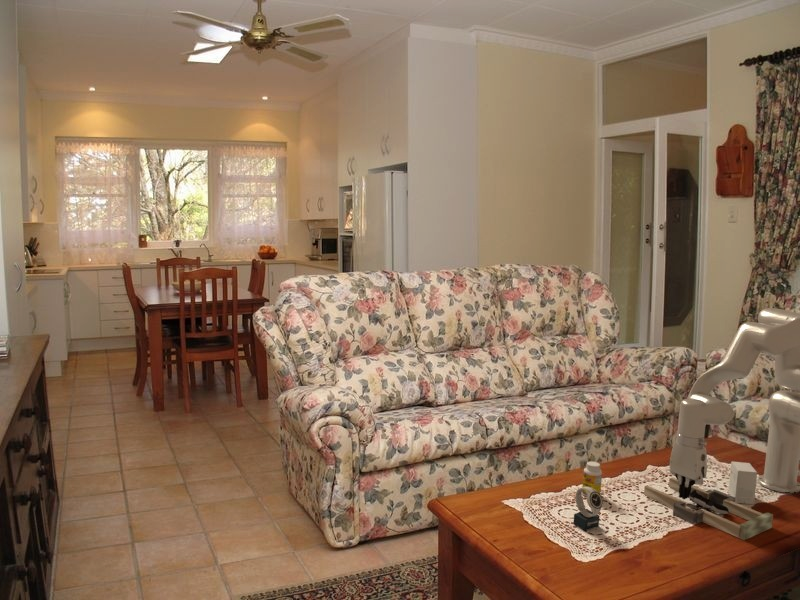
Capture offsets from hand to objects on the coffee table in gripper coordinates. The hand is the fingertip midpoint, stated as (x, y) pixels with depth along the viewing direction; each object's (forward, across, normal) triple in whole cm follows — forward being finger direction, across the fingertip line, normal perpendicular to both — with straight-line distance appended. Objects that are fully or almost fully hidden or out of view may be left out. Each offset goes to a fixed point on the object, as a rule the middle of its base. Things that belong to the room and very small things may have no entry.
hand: (684, 497), depth 214 cm
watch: (+2, +5, +38) cm, 38 cm away
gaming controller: (+2, -7, -2) cm, 7 cm away
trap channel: (+2, -7, 0) cm, 7 cm away
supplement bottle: (+2, +18, +21) cm, 28 cm away
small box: (+2, -8, -18) cm, 20 cm away
